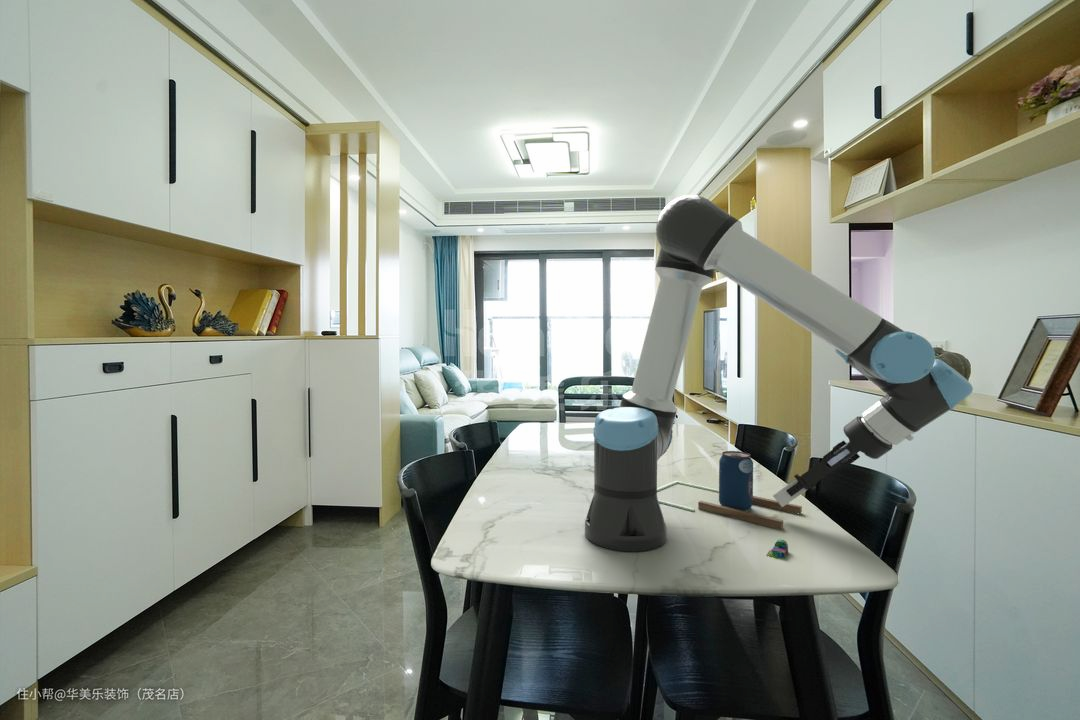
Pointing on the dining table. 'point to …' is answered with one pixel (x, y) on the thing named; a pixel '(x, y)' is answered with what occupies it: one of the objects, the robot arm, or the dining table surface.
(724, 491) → the soda can
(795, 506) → the walnut rails
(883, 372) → the robot arm
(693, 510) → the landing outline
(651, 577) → the dining table surface
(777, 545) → the multicolored toy figure
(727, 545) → the dining table surface
